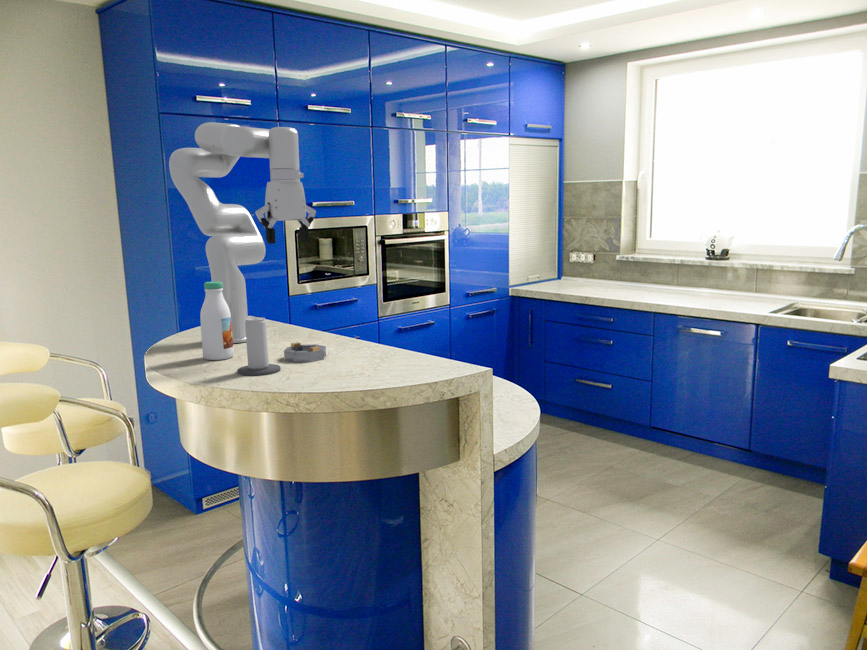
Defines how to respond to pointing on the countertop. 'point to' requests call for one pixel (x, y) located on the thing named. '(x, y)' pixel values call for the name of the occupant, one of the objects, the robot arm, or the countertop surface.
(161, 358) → the countertop surface
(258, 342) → the beverage can
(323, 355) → the ring
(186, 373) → the countertop surface
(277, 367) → the slate coaster
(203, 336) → the milk bottle
